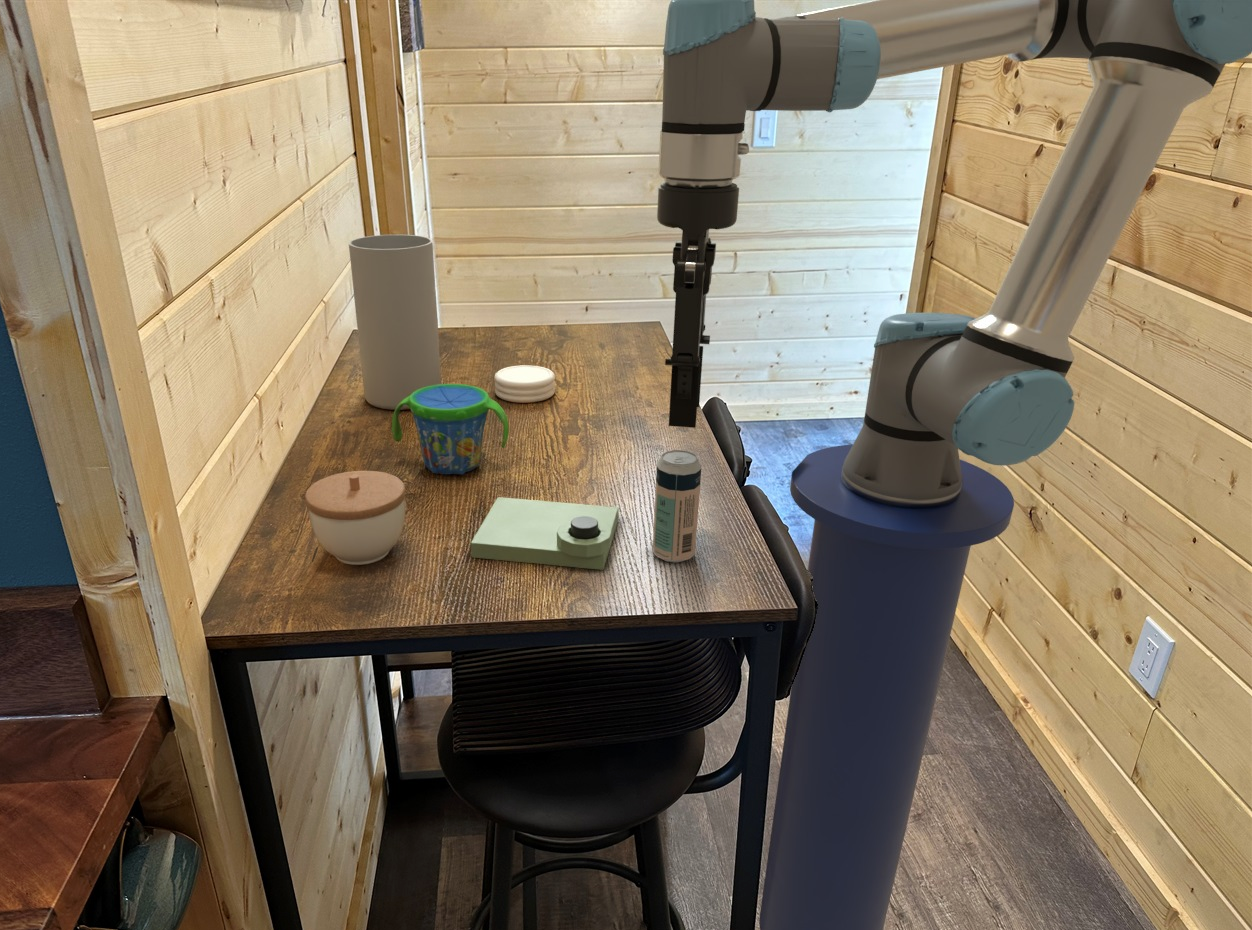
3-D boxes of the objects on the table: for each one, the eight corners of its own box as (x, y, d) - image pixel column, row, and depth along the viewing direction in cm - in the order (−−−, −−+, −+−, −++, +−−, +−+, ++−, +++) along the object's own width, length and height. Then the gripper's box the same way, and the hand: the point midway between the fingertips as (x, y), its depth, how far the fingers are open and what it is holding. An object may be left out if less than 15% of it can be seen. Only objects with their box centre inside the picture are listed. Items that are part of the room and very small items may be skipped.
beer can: (696, 547, 105) (704, 450, 99) (692, 567, 100) (699, 467, 95) (655, 542, 106) (660, 446, 100) (649, 562, 101) (654, 463, 96)
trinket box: (358, 521, 110) (350, 450, 106) (429, 543, 105) (423, 469, 101) (293, 559, 102) (281, 483, 97) (366, 585, 97) (357, 506, 93)
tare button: (599, 529, 102) (600, 517, 101) (595, 542, 99) (595, 529, 98) (573, 527, 102) (573, 514, 101) (568, 539, 100) (568, 527, 99)
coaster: (560, 385, 155) (560, 366, 154) (548, 405, 146) (548, 384, 145) (503, 382, 157) (502, 362, 155) (488, 401, 148) (487, 381, 146)
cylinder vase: (445, 385, 155) (436, 234, 144) (438, 411, 144) (427, 249, 133) (371, 386, 155) (356, 234, 144) (358, 411, 144) (341, 249, 132)
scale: (621, 521, 110) (622, 495, 109) (606, 574, 99) (606, 546, 97) (498, 510, 113) (497, 484, 111) (468, 561, 101) (467, 533, 100)
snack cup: (518, 456, 128) (516, 387, 123) (496, 487, 119) (493, 414, 114) (413, 446, 131) (408, 378, 126) (384, 476, 122) (377, 404, 117)
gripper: (737, 195, 76) (717, 451, 87) (741, 171, 93) (723, 389, 103) (648, 193, 78) (638, 445, 88) (667, 169, 94) (657, 384, 104)
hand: (684, 414), depth 95 cm, fingers open, 5 cm apart
